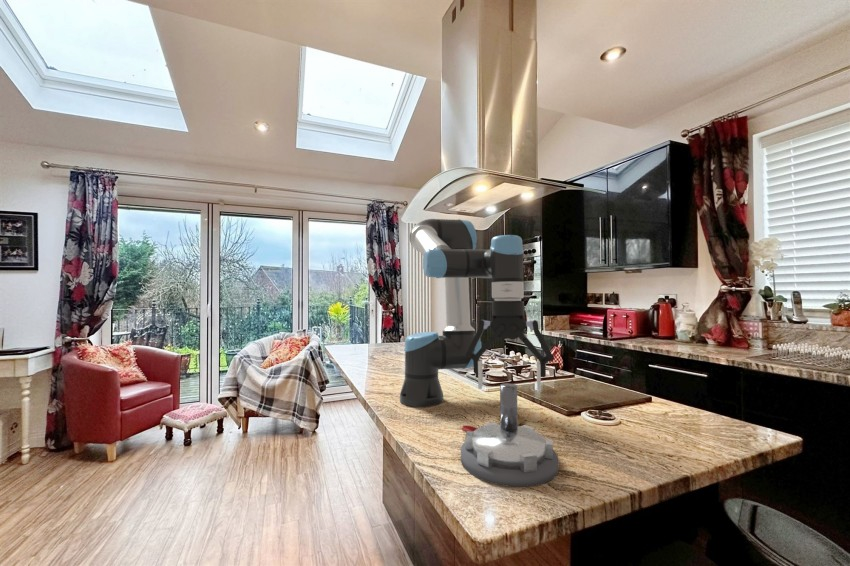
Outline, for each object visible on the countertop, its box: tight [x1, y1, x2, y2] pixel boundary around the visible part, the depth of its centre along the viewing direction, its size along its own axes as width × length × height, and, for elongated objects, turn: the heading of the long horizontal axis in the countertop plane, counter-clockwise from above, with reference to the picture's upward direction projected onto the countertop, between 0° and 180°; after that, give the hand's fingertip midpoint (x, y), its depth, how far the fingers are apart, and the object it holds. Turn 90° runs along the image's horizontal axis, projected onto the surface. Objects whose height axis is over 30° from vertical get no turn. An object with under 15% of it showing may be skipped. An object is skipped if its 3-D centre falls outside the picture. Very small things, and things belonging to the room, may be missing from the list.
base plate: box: [460, 442, 559, 488], centre depth 79 cm, size 21×21×2 cm
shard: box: [496, 413, 527, 426], centre depth 103 cm, size 11×8×2 cm
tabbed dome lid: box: [464, 382, 554, 472], centre depth 80 cm, size 18×19×13 cm
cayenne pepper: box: [460, 424, 479, 433], centre depth 96 cm, size 12×5×2 cm, turn 18°
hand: (509, 389), depth 85 cm, fingers open, 13 cm apart
